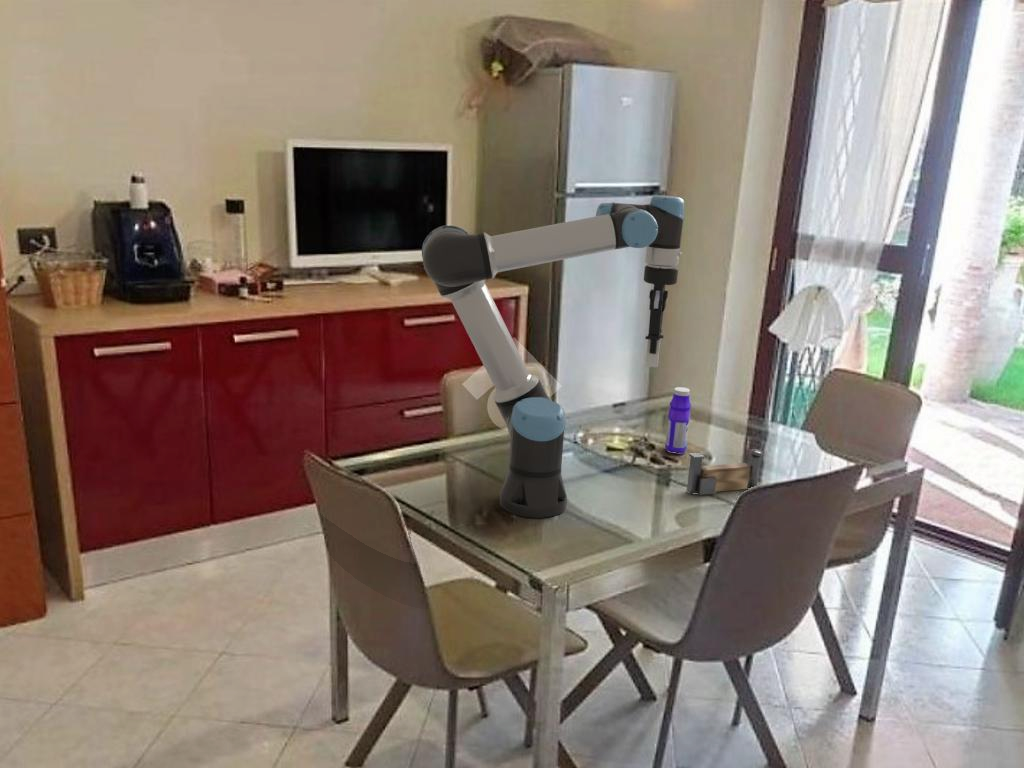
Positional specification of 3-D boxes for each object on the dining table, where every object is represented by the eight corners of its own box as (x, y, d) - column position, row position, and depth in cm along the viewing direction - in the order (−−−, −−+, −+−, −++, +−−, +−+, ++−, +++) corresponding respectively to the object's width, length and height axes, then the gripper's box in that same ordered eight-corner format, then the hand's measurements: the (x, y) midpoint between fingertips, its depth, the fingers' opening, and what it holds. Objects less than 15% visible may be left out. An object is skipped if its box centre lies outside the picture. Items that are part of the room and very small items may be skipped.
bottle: (685, 456, 236) (693, 393, 231) (664, 454, 237) (670, 391, 232) (686, 447, 243) (693, 386, 238) (665, 445, 244) (671, 384, 239)
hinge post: (749, 491, 215) (754, 454, 212) (742, 486, 218) (747, 449, 215) (760, 490, 216) (765, 453, 213) (753, 485, 219) (758, 448, 216)
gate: (741, 485, 217) (744, 462, 216) (747, 488, 215) (750, 466, 214) (696, 489, 213) (698, 466, 212) (701, 493, 211) (703, 470, 209)
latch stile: (692, 497, 210) (697, 459, 207) (684, 490, 213) (689, 453, 211) (714, 495, 211) (719, 457, 209) (706, 489, 215) (711, 451, 212)
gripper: (676, 271, 195) (665, 374, 202) (679, 263, 207) (669, 361, 214) (642, 268, 197) (632, 371, 203) (647, 260, 209) (638, 357, 216)
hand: (651, 365), depth 209 cm, fingers closed
